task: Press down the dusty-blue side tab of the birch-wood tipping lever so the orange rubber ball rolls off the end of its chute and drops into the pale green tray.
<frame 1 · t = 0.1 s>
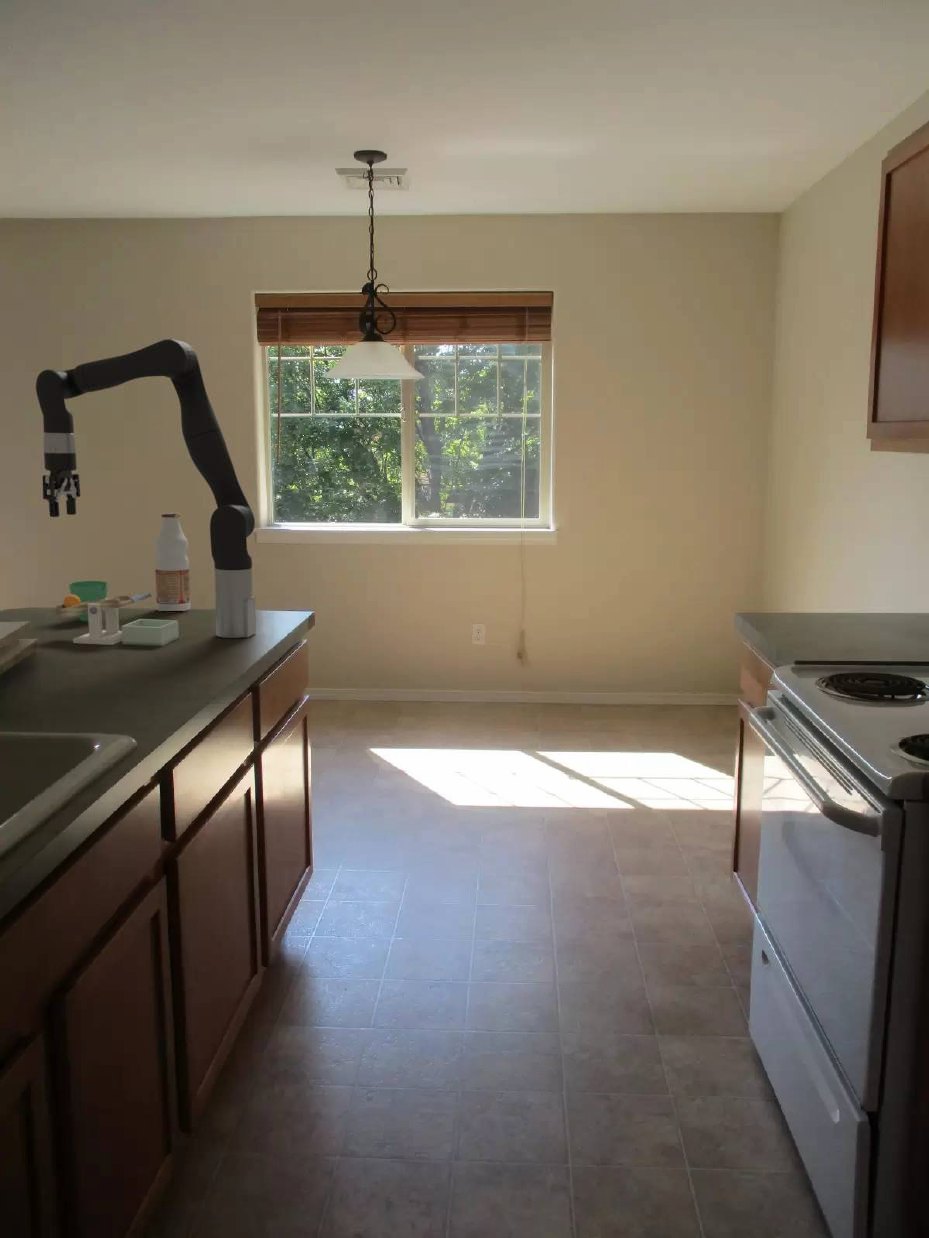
hand: (63, 515, 257), 29 cm above the countertop, fingers open, 8 cm apart
stand: (104, 639, 249), on the countertop
fruit juice: (173, 610, 292), on the countertop
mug: (91, 619, 276), on the countertop
ball: (72, 602, 248), point 9 cm above the countertop, tilted 8°, touching lever
lever: (104, 601, 252), point 9 cm above the countertop, hinge at 12.0°, touching ball
pale green tray: (150, 641, 247), on the countertop
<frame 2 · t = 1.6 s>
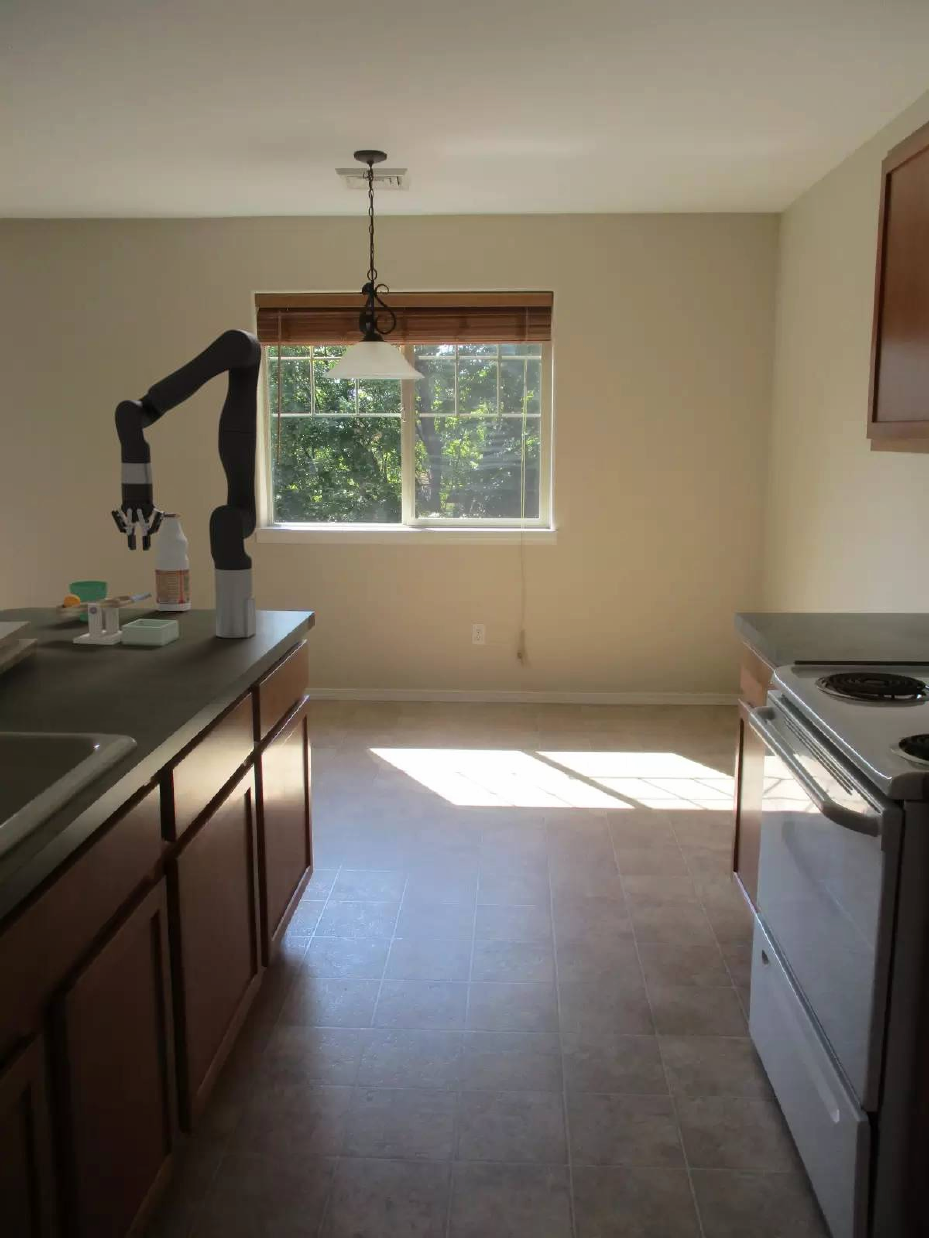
hand: (139, 549, 256), 21 cm above the countertop, fingers open, 3 cm apart
nothing on the countertop moved.
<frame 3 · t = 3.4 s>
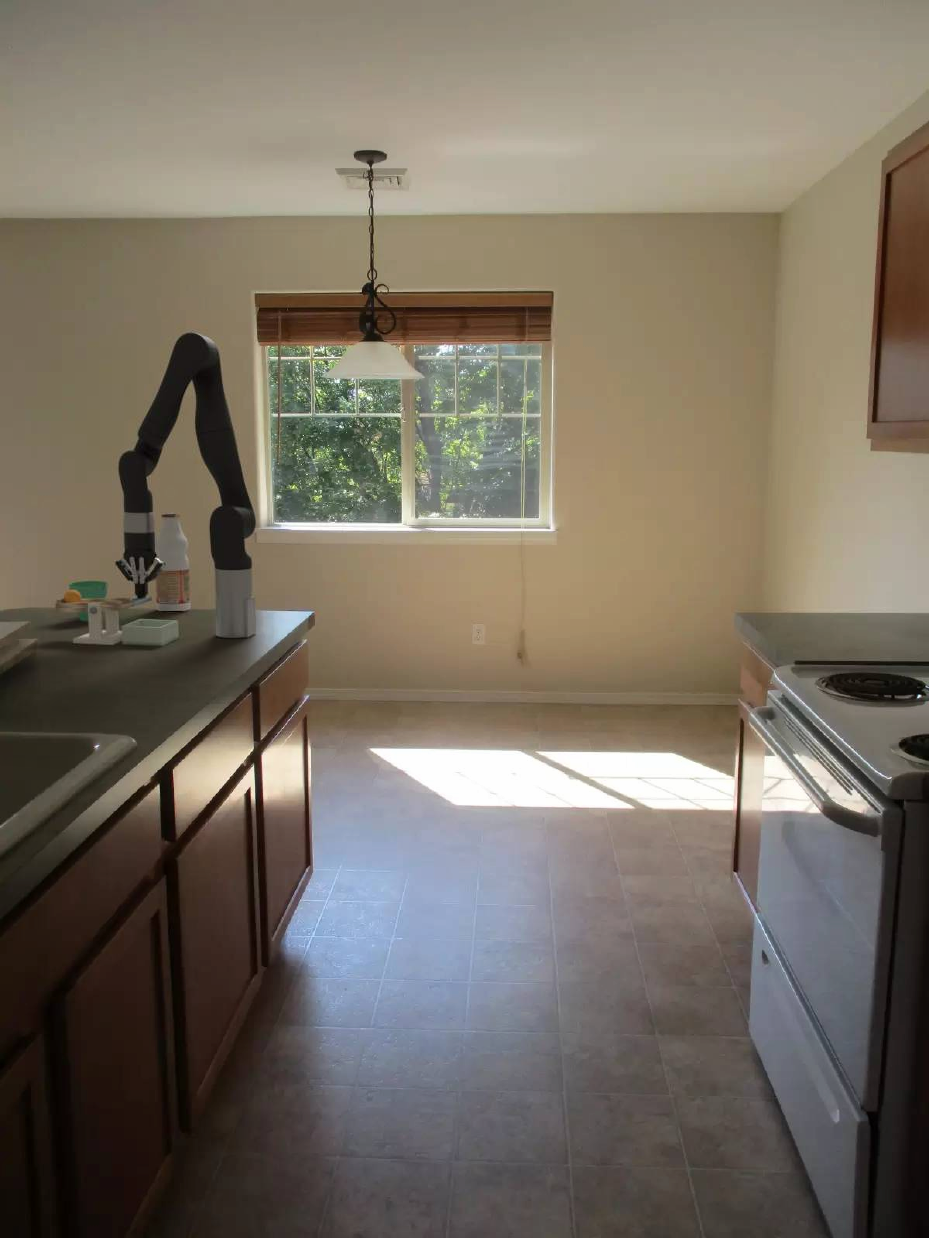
hand: (141, 597, 258), 9 cm above the countertop, fingers closed
ball: (72, 597, 248), point 10 cm above the countertop, touching lever
lever: (104, 600, 252), point 9 cm above the countertop, hinge at 3.6°, touching ball, gripper
everything else where it was.
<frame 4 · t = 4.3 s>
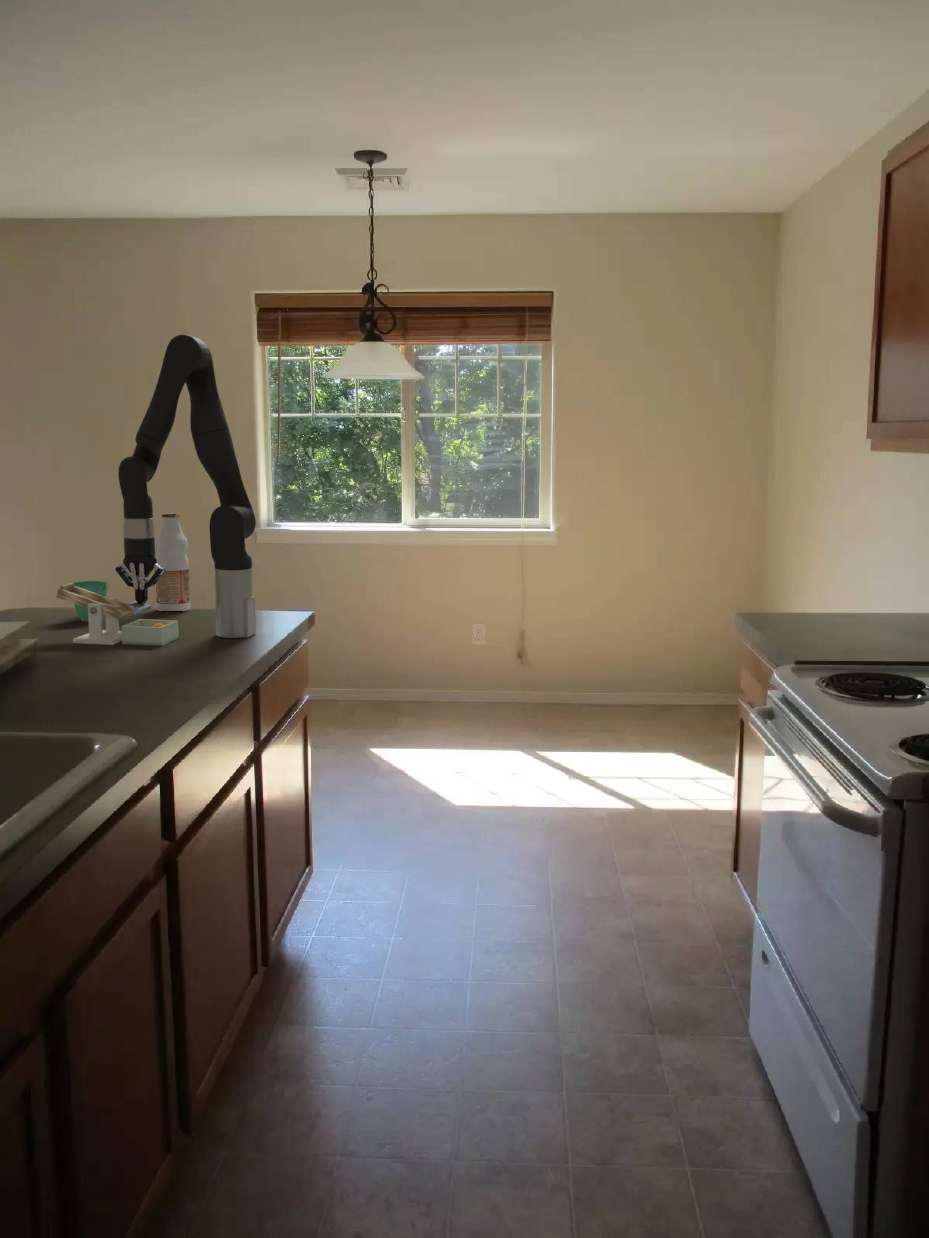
hand: (141, 603, 258), 7 cm above the countertop, fingers closed
ball: (158, 631, 247), point 3 cm above the countertop, tilted 58°, touching pale green tray
lever: (106, 597, 252), point 10 cm above the countertop, hinge at -16.7°, touching gripper
everything else where it was.
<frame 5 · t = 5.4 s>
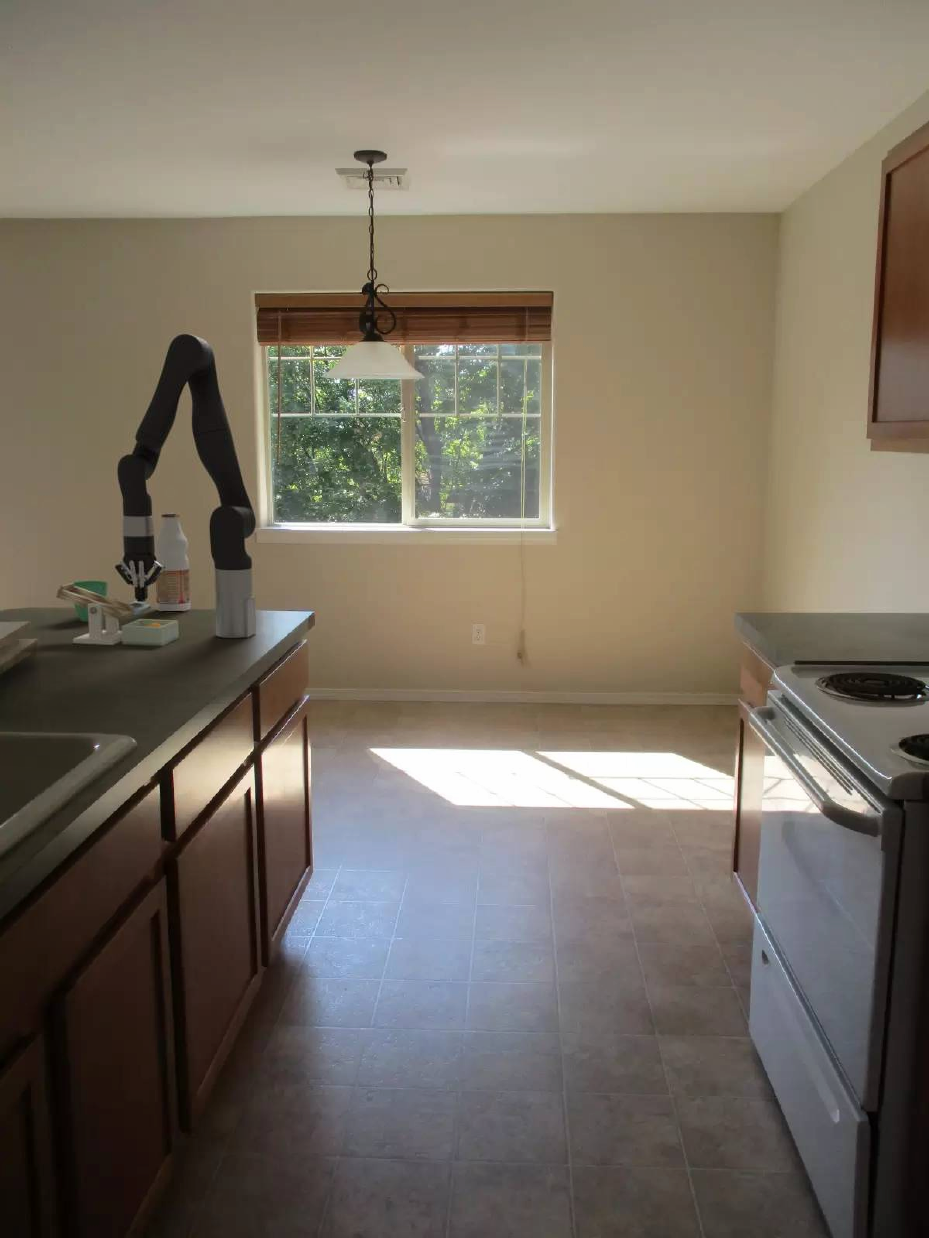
hand: (141, 601, 258), 8 cm above the countertop, fingers closed
ball: (155, 631, 247), point 3 cm above the countertop, tilted 86°, touching pale green tray
lever: (106, 597, 252), point 10 cm above the countertop, hinge at -16.8°
everything else where it was.
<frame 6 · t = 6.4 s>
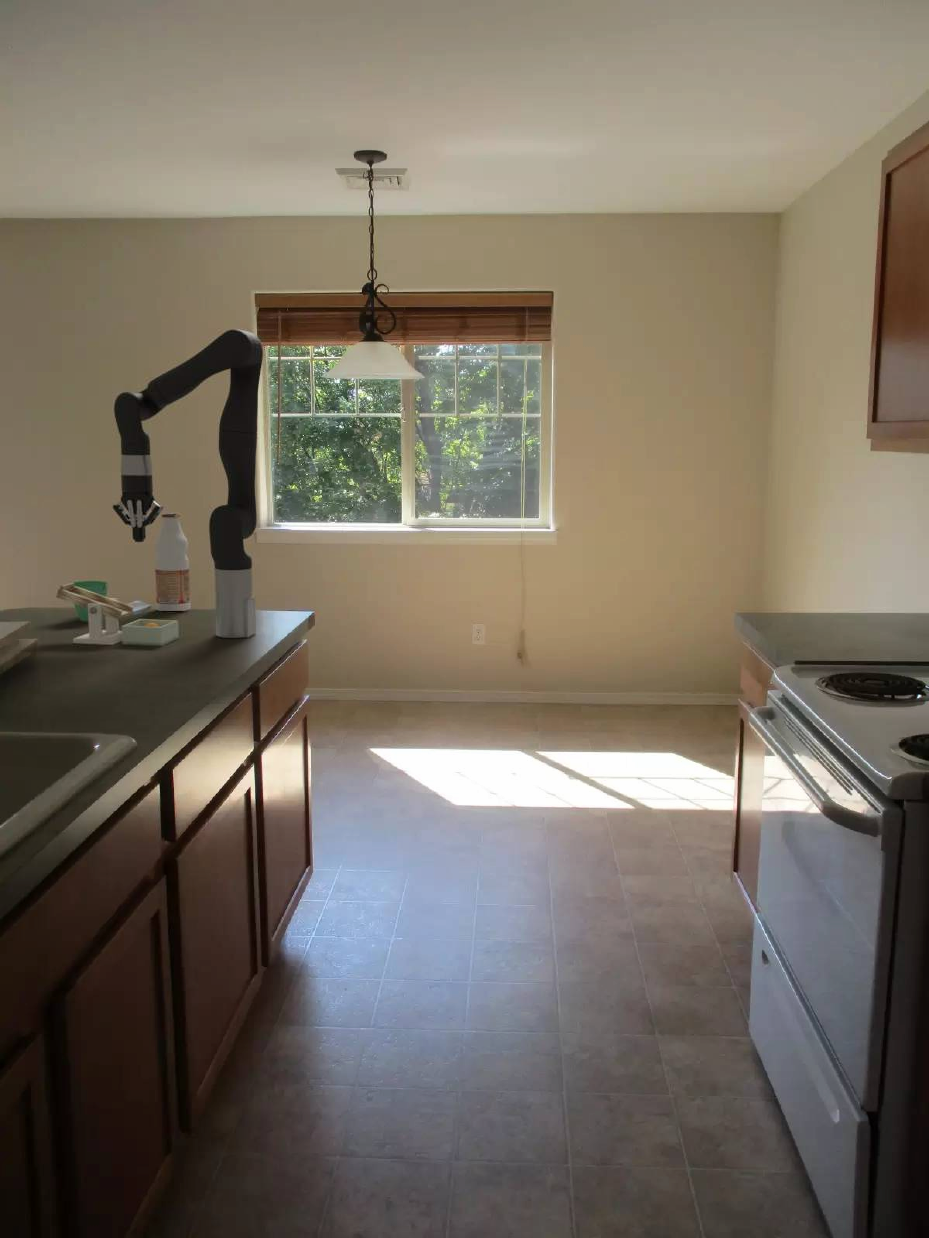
hand: (139, 541, 257), 23 cm above the countertop, fingers closed
ball: (151, 630, 247), point 3 cm above the countertop, tilted 111°, touching pale green tray
everything else where it was.
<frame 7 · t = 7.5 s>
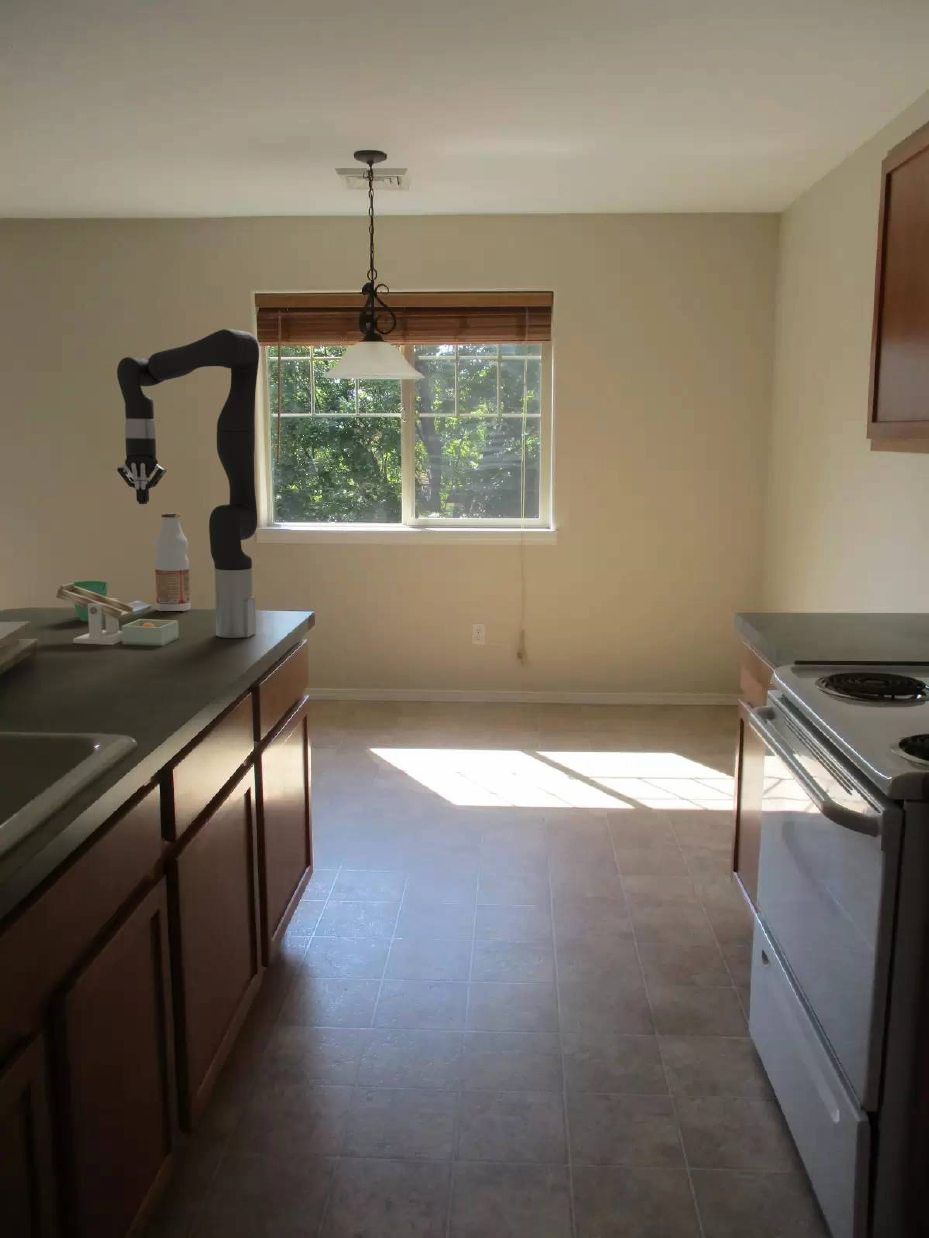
hand: (142, 503, 265), 32 cm above the countertop, fingers closed
ball: (147, 630, 247), point 3 cm above the countertop, tilted 138°, touching pale green tray
everything else where it was.
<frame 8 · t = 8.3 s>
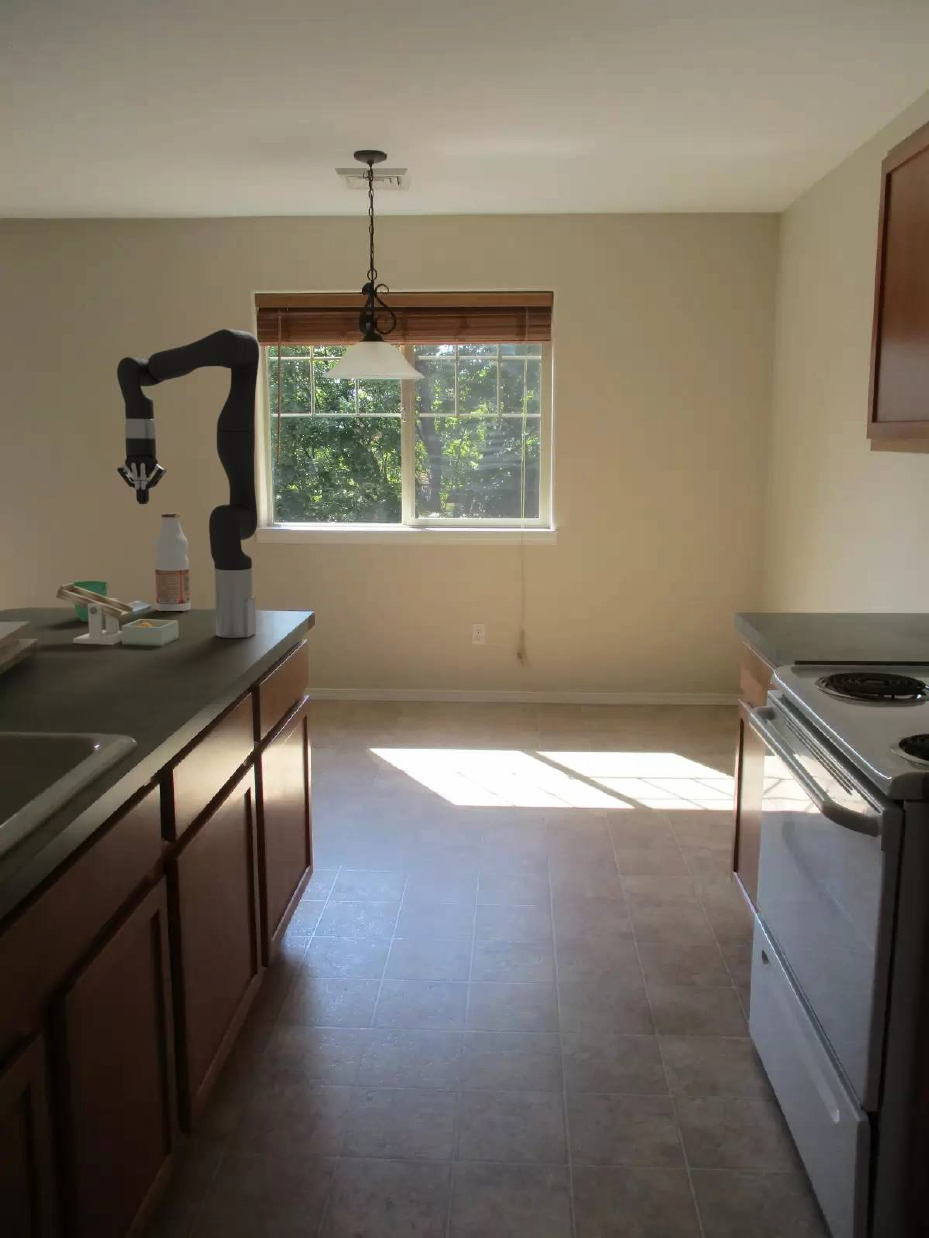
hand: (142, 503, 265), 32 cm above the countertop, fingers closed
ball: (145, 630, 247), point 3 cm above the countertop, tilted 158°, touching pale green tray
everything else where it was.
at the end: ball inside the target area on the pale green tray (1.5 cm from its centre), point 2.6 cm above the pale green tray's base; ball moved 19.4 cm from its start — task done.
